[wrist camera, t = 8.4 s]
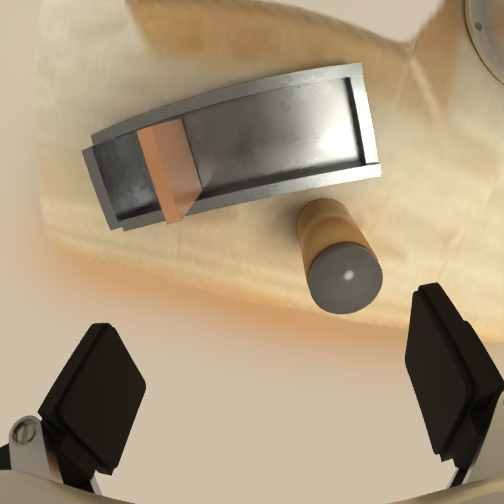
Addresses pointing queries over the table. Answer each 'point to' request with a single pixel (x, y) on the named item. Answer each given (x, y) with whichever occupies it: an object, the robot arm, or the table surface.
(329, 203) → the jar
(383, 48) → the table surface
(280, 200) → the table surface
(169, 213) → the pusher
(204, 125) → the tray
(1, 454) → the robot arm
